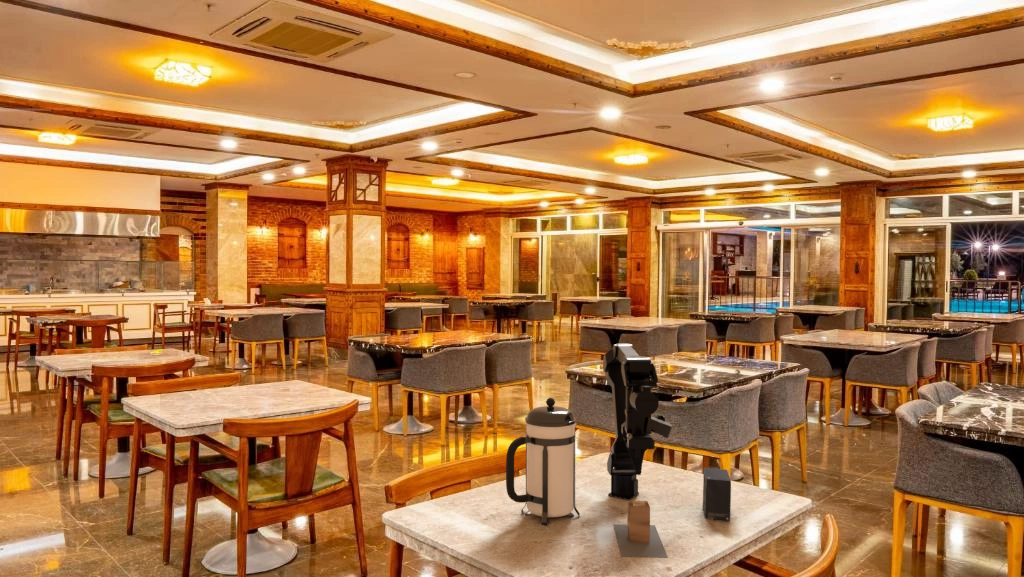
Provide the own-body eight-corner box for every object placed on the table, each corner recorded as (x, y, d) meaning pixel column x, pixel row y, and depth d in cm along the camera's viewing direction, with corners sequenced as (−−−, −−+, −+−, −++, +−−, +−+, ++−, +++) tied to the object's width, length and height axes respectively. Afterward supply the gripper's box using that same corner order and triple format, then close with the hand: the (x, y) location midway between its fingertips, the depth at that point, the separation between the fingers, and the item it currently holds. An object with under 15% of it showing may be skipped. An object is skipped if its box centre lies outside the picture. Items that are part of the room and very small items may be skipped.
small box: (731, 522, 175) (732, 480, 175) (704, 520, 176) (704, 478, 176) (727, 508, 185) (728, 468, 185) (701, 506, 187) (702, 467, 186)
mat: (613, 526, 172) (613, 524, 172) (654, 527, 171) (654, 525, 171) (621, 558, 152) (621, 556, 152) (668, 560, 152) (668, 557, 152)
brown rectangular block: (626, 534, 165) (626, 499, 165) (647, 534, 165) (647, 500, 165) (628, 542, 161) (629, 506, 160) (649, 542, 160) (650, 506, 160)
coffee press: (527, 503, 189) (527, 391, 188) (586, 510, 184) (586, 394, 183) (505, 525, 173) (505, 402, 172) (568, 533, 167) (569, 406, 167)
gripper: (676, 415, 169) (675, 480, 169) (663, 400, 187) (663, 459, 188) (629, 414, 169) (628, 479, 170) (621, 400, 188) (621, 458, 188)
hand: (637, 468), depth 179 cm, fingers open, 3 cm apart
